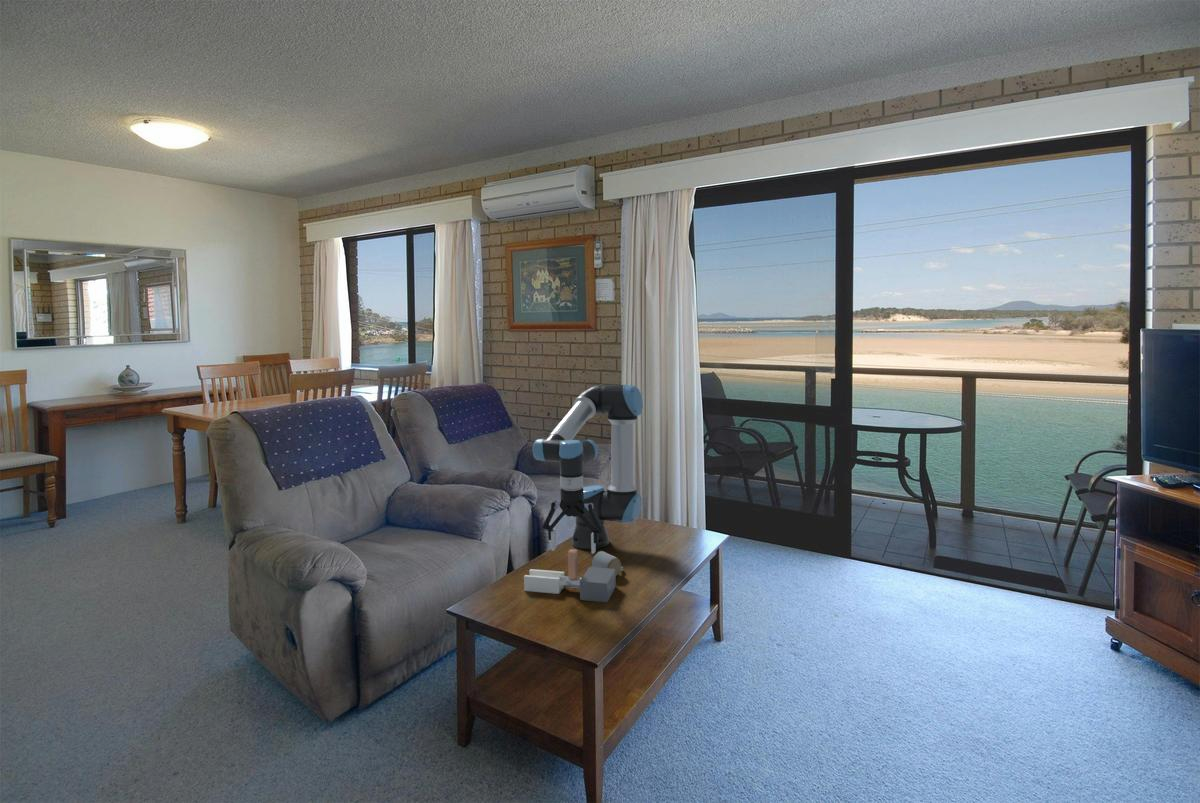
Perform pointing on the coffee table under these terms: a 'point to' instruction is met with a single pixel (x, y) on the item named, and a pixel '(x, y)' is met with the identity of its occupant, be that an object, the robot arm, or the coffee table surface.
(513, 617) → the coffee table surface
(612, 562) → the ceramic mug
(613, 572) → the socket block
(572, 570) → the silver peg with handle
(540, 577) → the white channel cradle
